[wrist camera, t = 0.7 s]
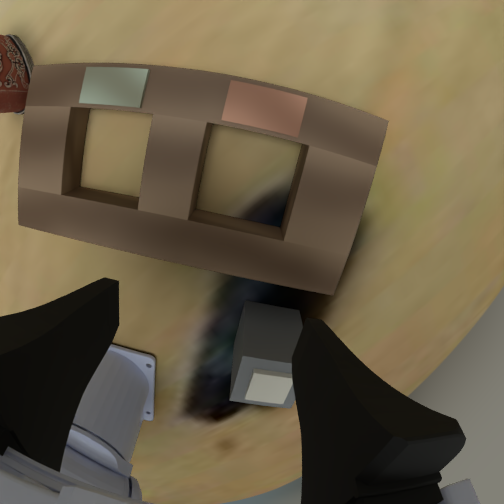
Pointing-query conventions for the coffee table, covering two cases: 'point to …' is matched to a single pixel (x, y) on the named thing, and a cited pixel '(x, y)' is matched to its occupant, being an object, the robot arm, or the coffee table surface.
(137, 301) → the coffee table surface
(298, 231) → the socket board
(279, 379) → the plug
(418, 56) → the coffee table surface
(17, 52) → the lighter
